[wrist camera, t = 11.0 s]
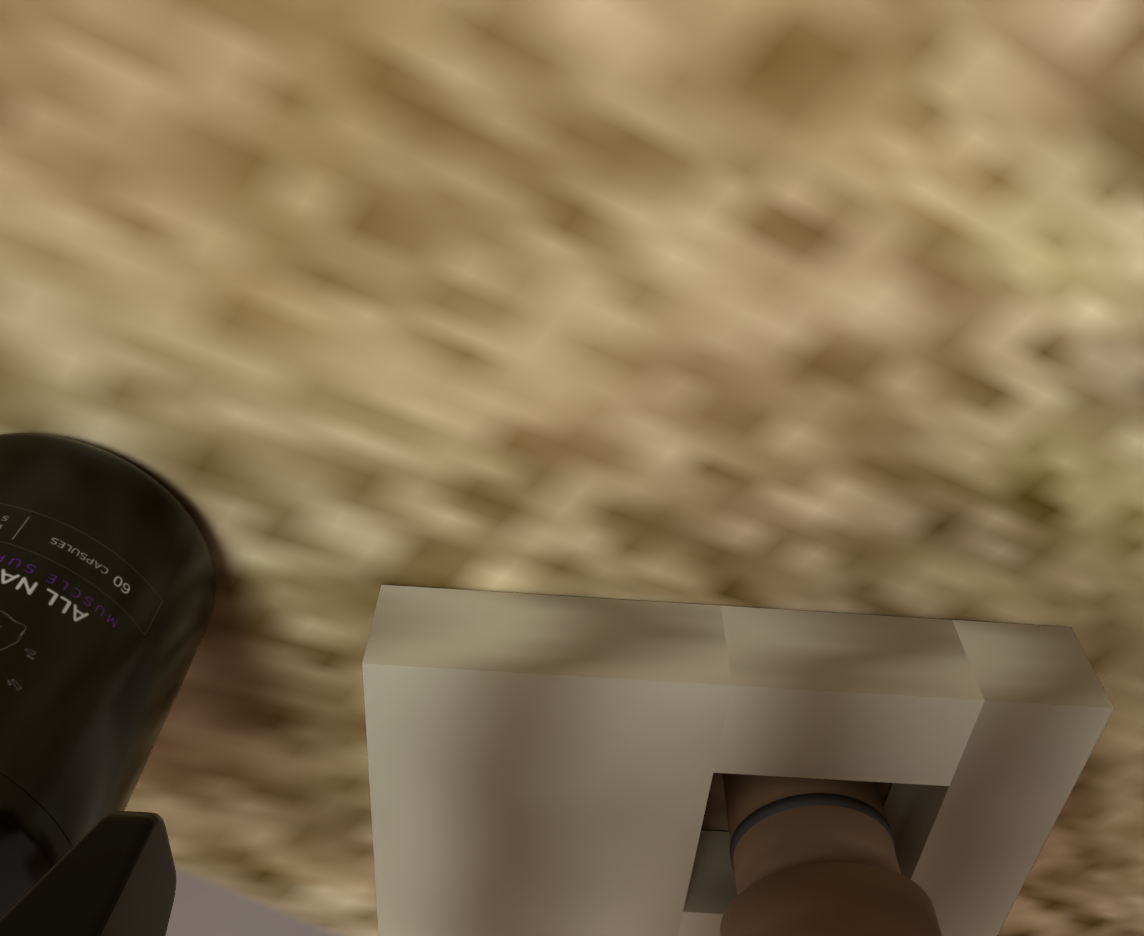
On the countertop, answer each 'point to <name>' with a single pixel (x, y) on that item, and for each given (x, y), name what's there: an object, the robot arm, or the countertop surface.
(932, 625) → the board
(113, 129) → the countertop surface
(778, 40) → the countertop surface
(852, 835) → the walnut peg
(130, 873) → the robot arm
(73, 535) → the supplement bottle
